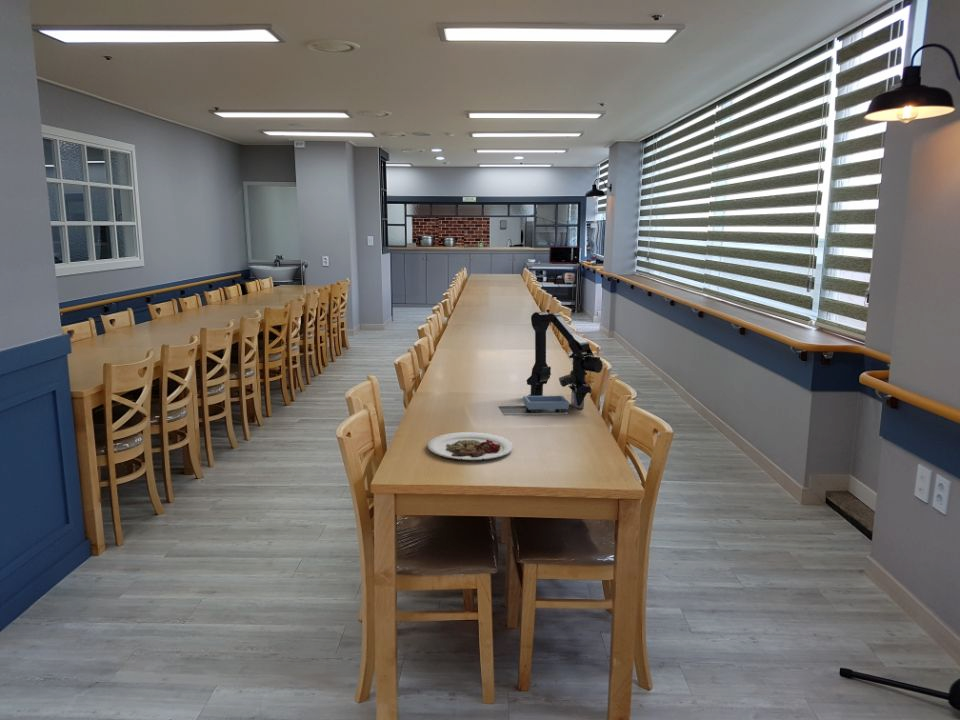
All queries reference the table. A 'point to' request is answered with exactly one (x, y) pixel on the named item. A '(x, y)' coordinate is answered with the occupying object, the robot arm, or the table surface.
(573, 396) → the steel block
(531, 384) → the robot arm
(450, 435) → the plated food
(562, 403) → the cart
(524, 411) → the track
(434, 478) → the table surface
